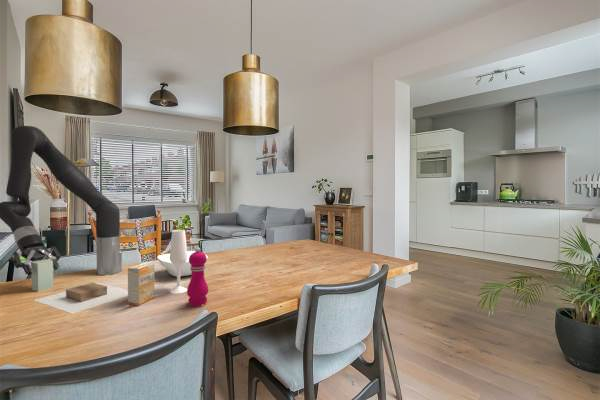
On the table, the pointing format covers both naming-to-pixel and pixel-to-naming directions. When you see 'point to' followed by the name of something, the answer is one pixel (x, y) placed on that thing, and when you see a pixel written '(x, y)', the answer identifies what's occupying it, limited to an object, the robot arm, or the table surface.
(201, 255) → the pepper mill
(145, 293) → the supplement box
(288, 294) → the table surface
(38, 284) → the sage block
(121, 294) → the grey board
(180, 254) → the champagne flute
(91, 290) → the walnut plinth
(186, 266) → the bowl
